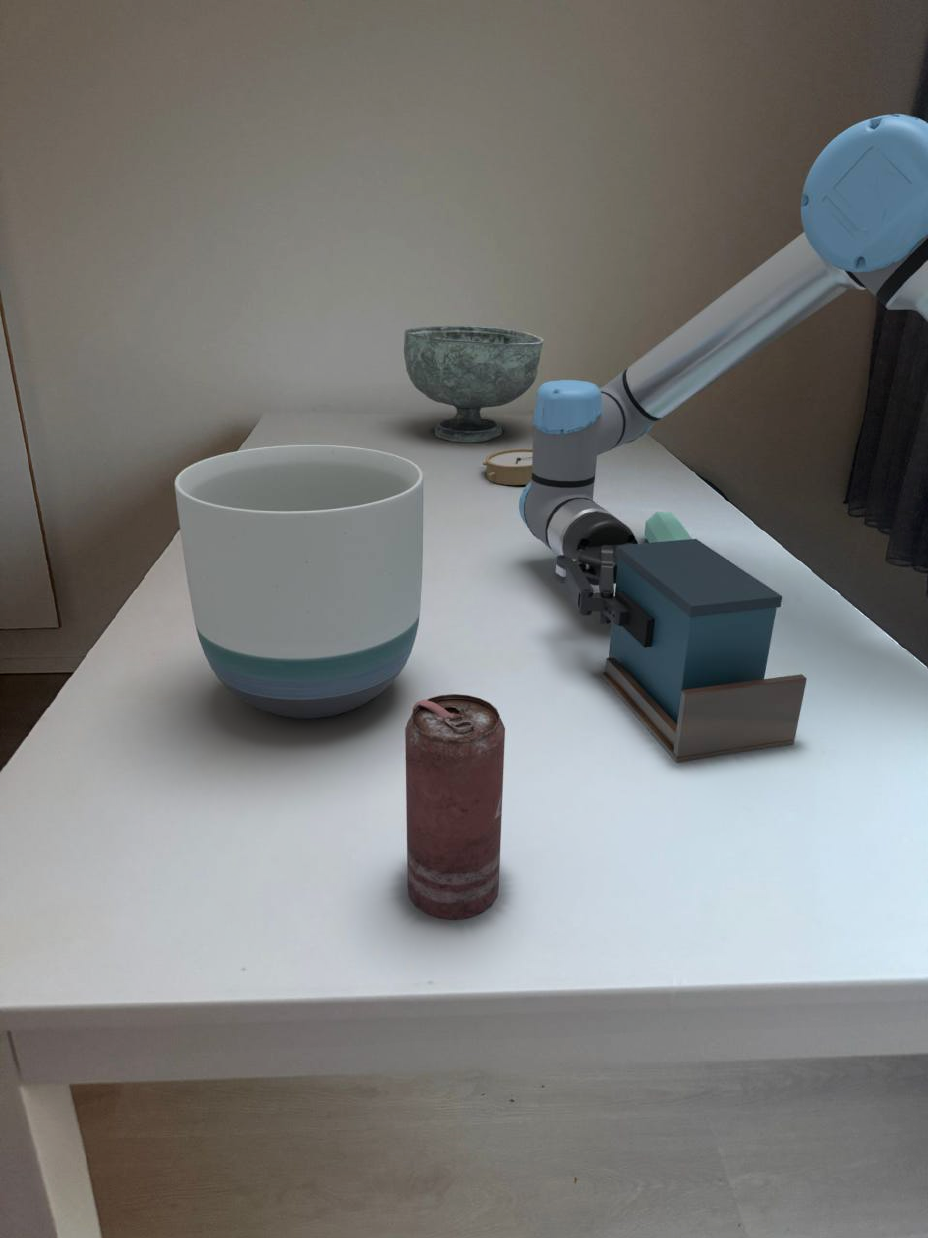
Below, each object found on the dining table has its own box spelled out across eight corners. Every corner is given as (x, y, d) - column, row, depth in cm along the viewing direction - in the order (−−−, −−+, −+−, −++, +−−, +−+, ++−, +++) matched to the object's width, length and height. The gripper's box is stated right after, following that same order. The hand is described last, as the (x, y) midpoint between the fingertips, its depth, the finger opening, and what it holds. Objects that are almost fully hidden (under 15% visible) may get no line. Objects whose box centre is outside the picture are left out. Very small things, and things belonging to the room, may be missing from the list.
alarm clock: (479, 452, 156) (564, 435, 156) (484, 479, 158) (568, 463, 158) (488, 469, 146) (579, 452, 146) (493, 498, 148) (582, 481, 148)
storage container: (605, 658, 90) (616, 545, 85) (681, 649, 92) (696, 538, 87) (674, 733, 78) (691, 606, 73) (760, 721, 80) (782, 596, 75)
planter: (177, 675, 88) (149, 459, 79) (370, 633, 97) (364, 435, 88) (239, 783, 72) (213, 528, 63) (462, 721, 81) (467, 490, 72)
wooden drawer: (600, 681, 88) (606, 616, 85) (702, 667, 91) (712, 604, 88) (675, 768, 75) (685, 694, 72) (793, 749, 78) (807, 678, 75)
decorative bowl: (374, 428, 181) (376, 324, 172) (467, 413, 197) (473, 318, 189) (463, 460, 164) (470, 346, 155) (557, 441, 180) (568, 337, 172)
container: (650, 497, 123) (695, 560, 100) (688, 513, 124) (741, 580, 101) (630, 535, 125) (669, 606, 102) (668, 551, 126) (714, 624, 103)
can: (430, 852, 65) (430, 680, 59) (512, 880, 62) (520, 703, 56) (387, 905, 60) (382, 724, 54) (474, 938, 57) (479, 751, 51)
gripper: (673, 566, 105) (788, 652, 85) (502, 582, 100) (582, 679, 80) (680, 504, 102) (802, 579, 82) (504, 517, 96) (589, 601, 77)
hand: (693, 628), depth 81 cm, fingers closed on storage container, 8 cm apart
